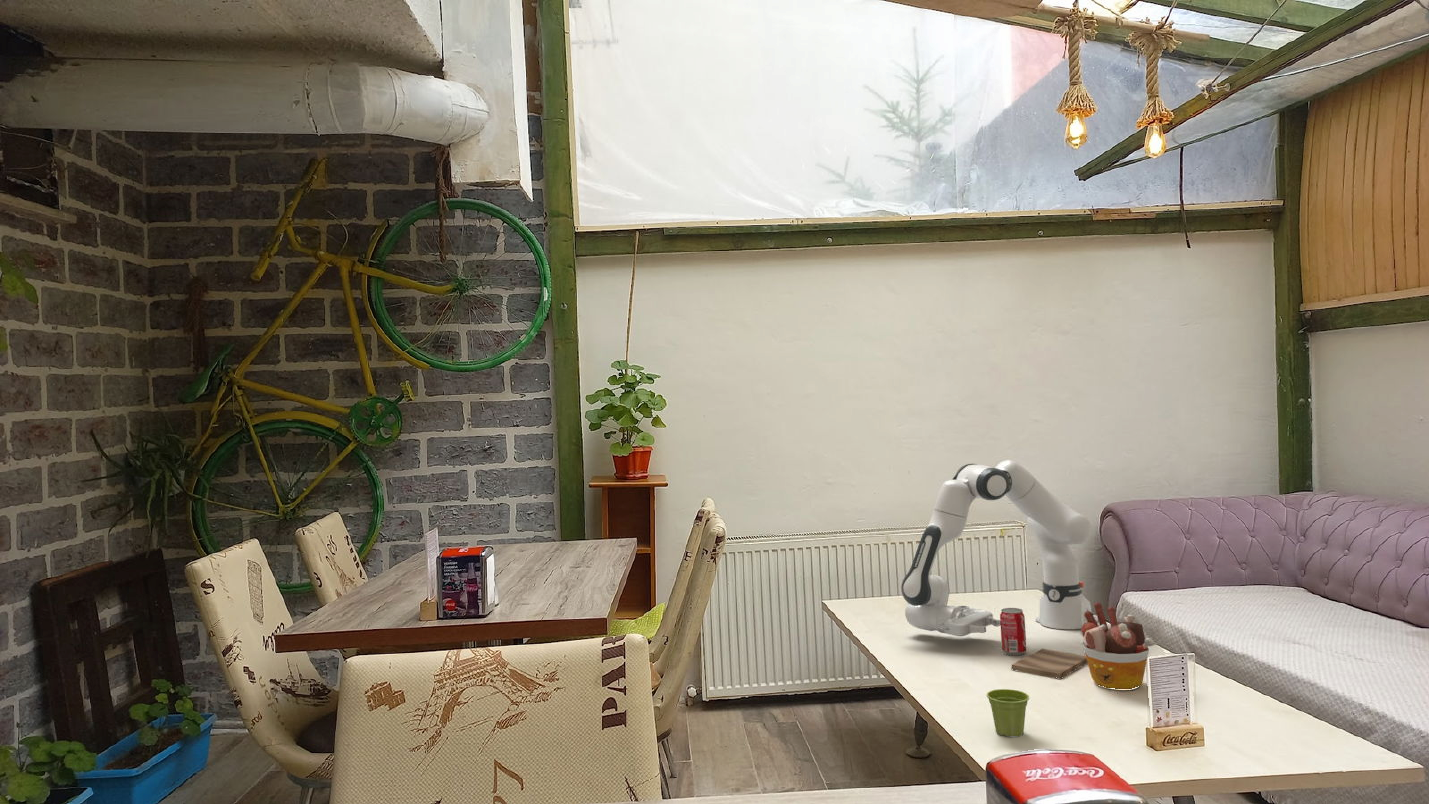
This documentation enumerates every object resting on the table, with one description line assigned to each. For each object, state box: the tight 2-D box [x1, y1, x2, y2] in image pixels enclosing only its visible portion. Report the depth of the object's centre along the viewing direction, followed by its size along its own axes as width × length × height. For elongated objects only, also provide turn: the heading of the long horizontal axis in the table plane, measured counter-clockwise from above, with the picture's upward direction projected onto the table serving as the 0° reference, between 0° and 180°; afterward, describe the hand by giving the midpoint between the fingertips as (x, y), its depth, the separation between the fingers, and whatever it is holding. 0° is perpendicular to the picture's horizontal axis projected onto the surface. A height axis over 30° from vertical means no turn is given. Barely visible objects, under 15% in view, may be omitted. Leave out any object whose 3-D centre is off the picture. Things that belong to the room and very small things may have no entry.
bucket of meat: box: [1080, 601, 1156, 689], centre depth 230 cm, size 20×16×20 cm
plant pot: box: [986, 688, 1030, 737], centre depth 200 cm, size 9×9×9 cm
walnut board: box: [1011, 648, 1088, 679], centre depth 248 cm, size 20×14×2 cm
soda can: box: [999, 607, 1028, 656], centre depth 262 cm, size 7×7×13 cm
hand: (992, 626), depth 267 cm, fingers open, 8 cm apart
